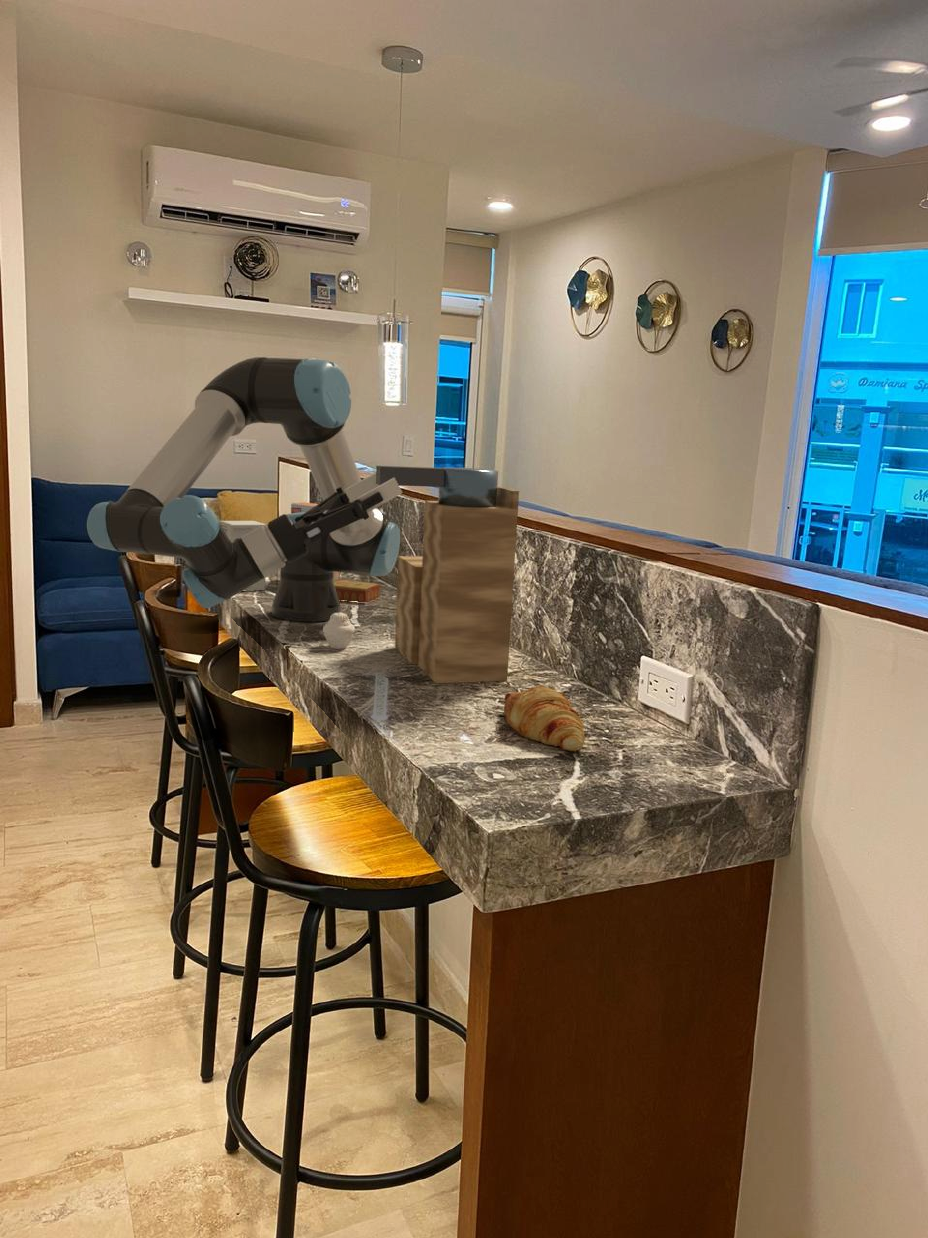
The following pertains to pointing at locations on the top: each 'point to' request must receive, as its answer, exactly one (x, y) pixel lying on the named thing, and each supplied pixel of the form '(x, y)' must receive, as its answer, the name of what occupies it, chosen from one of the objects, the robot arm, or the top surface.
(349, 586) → the carton
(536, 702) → the croissant
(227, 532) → the supplement box
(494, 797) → the top surface
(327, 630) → the white ridged rounded piece
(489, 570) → the pine stand
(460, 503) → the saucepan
